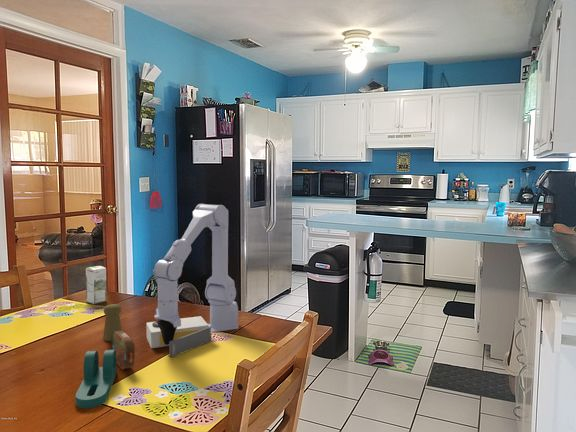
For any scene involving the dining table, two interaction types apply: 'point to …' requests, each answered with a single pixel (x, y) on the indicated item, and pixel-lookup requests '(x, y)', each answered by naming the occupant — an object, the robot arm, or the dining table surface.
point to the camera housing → (186, 328)
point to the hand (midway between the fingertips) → (168, 343)
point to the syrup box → (96, 284)
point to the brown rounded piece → (123, 349)
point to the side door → (189, 341)
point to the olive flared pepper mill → (111, 320)
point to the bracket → (96, 379)
